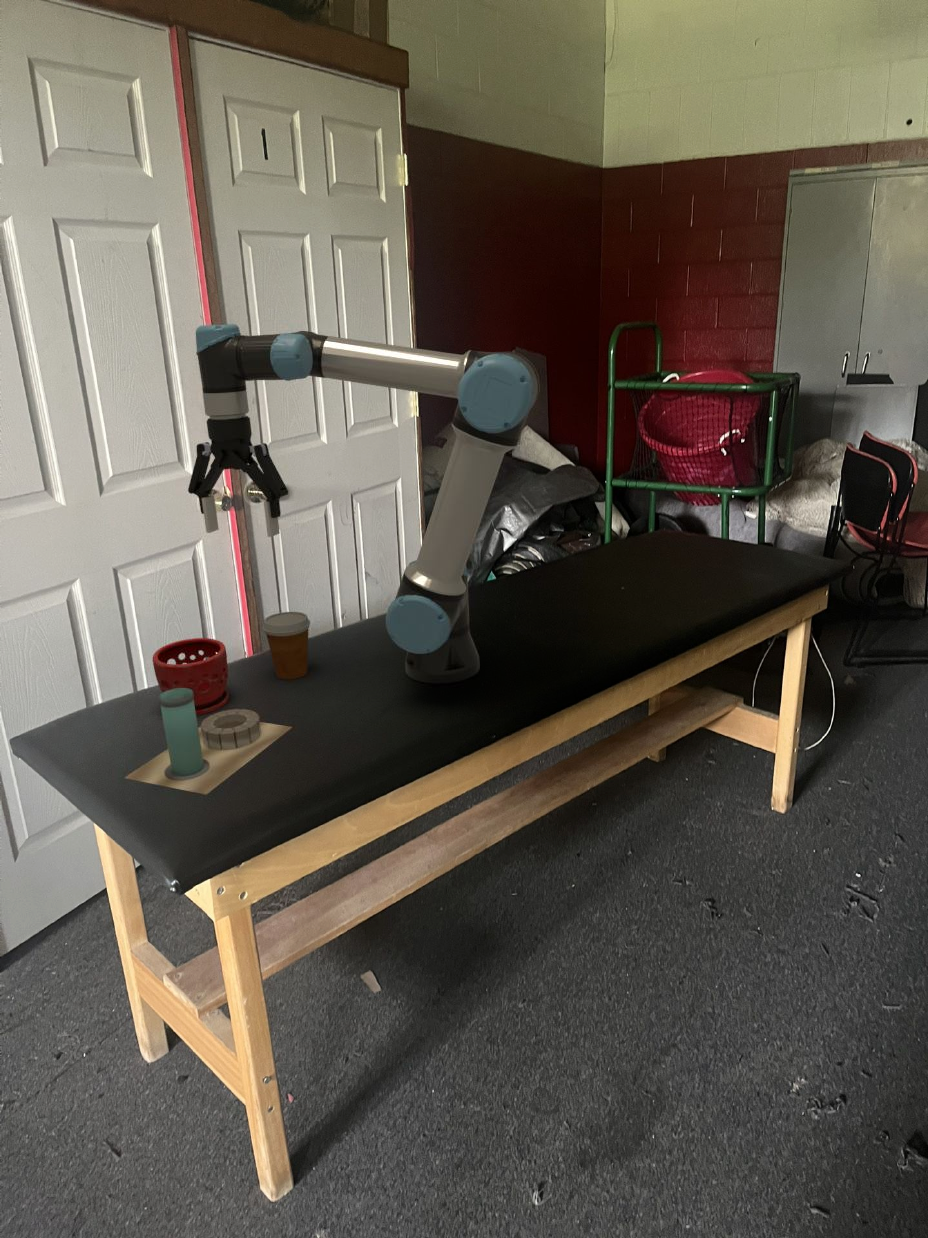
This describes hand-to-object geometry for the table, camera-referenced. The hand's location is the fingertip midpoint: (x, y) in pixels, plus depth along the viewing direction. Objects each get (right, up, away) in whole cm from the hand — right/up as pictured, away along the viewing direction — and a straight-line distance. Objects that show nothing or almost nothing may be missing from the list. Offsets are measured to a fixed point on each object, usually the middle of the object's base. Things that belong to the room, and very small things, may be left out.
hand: (242, 533), depth 163 cm
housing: (-1, -39, -15) cm, 42 cm away
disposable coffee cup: (+6, -27, +18) cm, 33 cm away
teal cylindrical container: (-4, -40, -21) cm, 45 cm away
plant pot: (-9, -33, +4) cm, 35 cm away
